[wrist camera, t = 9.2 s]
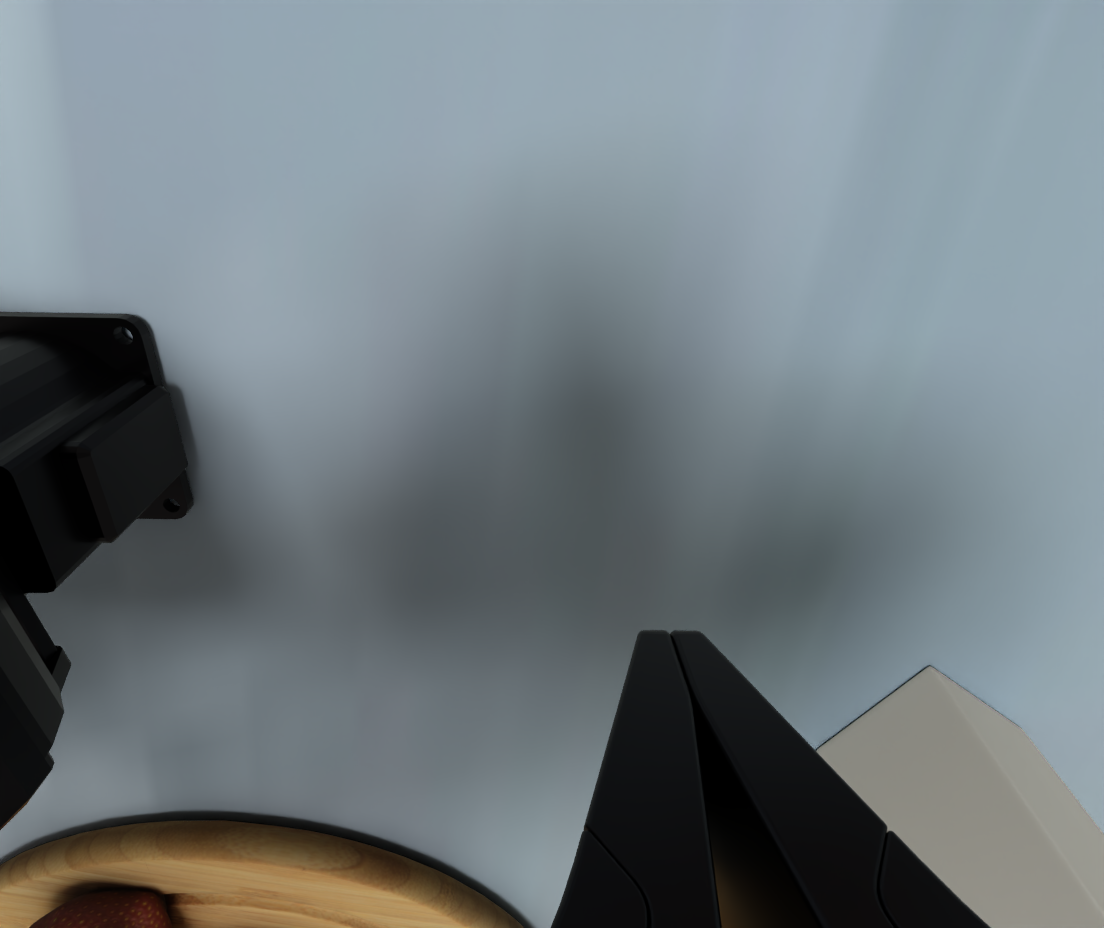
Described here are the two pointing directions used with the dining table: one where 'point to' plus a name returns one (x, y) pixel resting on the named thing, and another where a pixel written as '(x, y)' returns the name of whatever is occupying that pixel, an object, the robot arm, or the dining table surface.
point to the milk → (976, 805)
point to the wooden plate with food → (230, 882)
